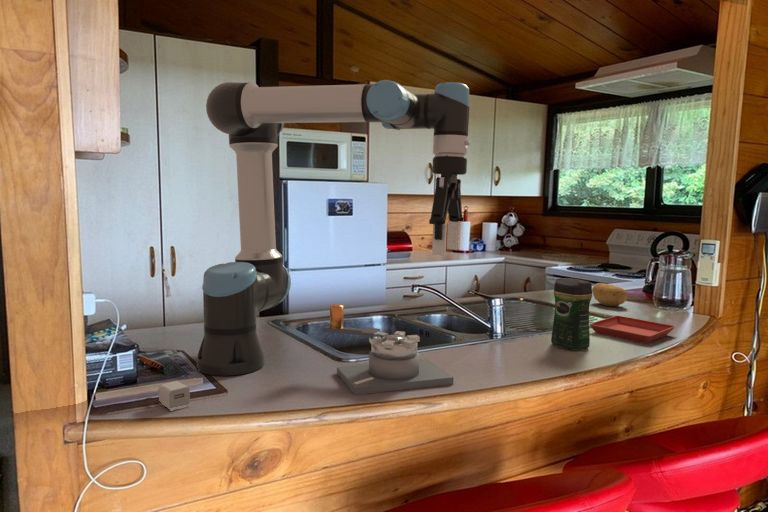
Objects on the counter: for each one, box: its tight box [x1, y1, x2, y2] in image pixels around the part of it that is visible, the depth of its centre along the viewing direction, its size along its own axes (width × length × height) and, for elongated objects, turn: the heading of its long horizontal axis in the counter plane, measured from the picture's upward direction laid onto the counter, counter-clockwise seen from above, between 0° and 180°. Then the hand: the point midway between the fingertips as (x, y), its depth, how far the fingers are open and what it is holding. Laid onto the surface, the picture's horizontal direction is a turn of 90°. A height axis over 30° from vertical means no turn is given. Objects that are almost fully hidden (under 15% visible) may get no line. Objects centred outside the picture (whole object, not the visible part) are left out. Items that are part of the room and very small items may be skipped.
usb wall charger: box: [157, 380, 191, 408], centre depth 106 cm, size 4×7×4 cm, turn 45°
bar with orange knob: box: [324, 303, 421, 360], centre depth 123 cm, size 21×11×10 cm, turn 73°
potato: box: [592, 282, 629, 307], centre depth 208 cm, size 10×14×8 cm
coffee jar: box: [550, 277, 593, 351], centre depth 150 cm, size 10×8×19 cm
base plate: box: [336, 351, 454, 396], centre depth 122 cm, size 22×14×6 cm, turn 109°
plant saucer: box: [589, 315, 676, 344], centre depth 166 cm, size 18×18×3 cm
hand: (446, 252), depth 126 cm, fingers open, 13 cm apart
